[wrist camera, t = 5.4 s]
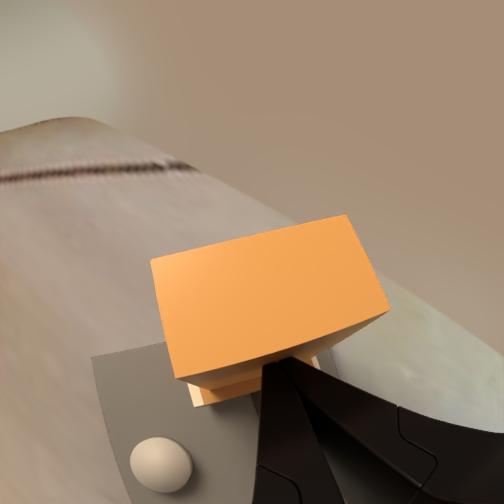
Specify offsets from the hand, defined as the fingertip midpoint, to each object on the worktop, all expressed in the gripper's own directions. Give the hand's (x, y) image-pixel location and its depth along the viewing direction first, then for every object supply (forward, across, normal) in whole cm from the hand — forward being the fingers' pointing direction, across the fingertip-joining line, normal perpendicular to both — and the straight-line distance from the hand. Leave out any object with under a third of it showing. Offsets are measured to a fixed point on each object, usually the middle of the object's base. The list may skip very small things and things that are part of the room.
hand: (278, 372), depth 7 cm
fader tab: (+5, 0, +3) cm, 6 cm away
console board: (+2, +2, +9) cm, 9 cm away
